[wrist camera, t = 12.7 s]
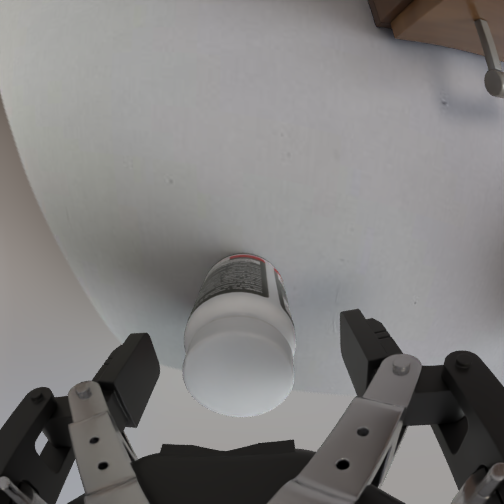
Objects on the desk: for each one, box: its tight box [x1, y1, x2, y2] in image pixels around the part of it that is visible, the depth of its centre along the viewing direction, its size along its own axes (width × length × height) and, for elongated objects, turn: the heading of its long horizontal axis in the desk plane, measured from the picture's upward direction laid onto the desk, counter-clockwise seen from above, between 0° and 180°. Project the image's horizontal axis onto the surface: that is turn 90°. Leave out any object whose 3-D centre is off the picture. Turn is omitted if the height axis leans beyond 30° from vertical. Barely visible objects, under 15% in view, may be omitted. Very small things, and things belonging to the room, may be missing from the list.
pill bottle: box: [183, 254, 296, 417], centre depth 14 cm, size 5×5×8 cm
